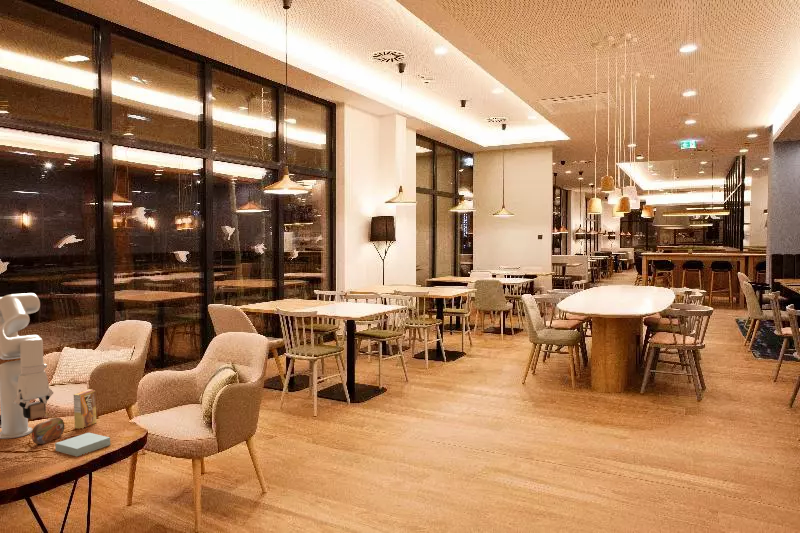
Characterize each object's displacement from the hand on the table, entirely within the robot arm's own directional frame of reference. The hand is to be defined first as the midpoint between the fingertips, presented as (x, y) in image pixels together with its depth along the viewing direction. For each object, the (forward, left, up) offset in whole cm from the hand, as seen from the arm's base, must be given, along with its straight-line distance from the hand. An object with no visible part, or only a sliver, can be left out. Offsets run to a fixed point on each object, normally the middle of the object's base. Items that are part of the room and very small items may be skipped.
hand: (34, 415), depth 227 cm
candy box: (-15, +30, -15) cm, 37 cm away
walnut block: (0, 0, -1) cm, 1 cm away
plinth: (+11, +12, -15) cm, 22 cm away
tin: (-11, +11, -15) cm, 22 cm away
